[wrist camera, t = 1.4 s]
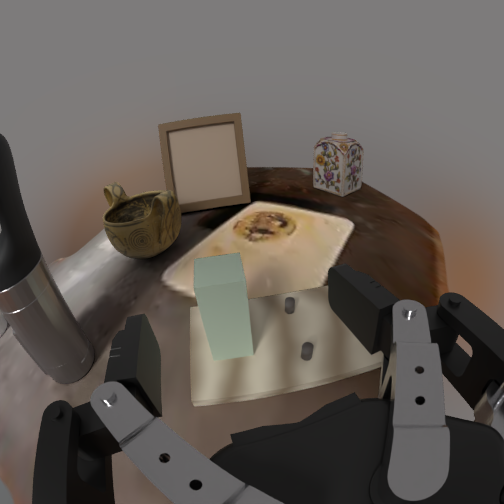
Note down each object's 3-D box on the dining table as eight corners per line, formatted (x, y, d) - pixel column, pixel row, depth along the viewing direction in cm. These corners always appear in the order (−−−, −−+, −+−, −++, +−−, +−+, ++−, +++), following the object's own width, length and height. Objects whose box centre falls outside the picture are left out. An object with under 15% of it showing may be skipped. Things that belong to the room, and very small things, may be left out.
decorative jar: (342, 198, 77) (345, 137, 67) (311, 188, 84) (312, 132, 75) (362, 188, 83) (365, 134, 73) (333, 180, 90) (334, 129, 81)
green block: (213, 360, 32) (193, 287, 26) (211, 331, 36) (194, 259, 30) (253, 355, 33) (245, 280, 26) (247, 326, 37) (239, 252, 30)
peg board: (194, 406, 28) (187, 393, 26) (192, 314, 42) (187, 297, 40) (383, 365, 31) (391, 349, 29) (339, 290, 44) (342, 273, 42)
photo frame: (250, 205, 75) (243, 113, 61) (171, 218, 72) (154, 126, 59) (242, 189, 87) (235, 111, 74) (175, 199, 85) (162, 122, 71)
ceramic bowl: (98, 255, 58) (78, 197, 50) (148, 224, 70) (136, 171, 62) (154, 286, 48) (131, 211, 40) (212, 242, 60) (202, 175, 51)
